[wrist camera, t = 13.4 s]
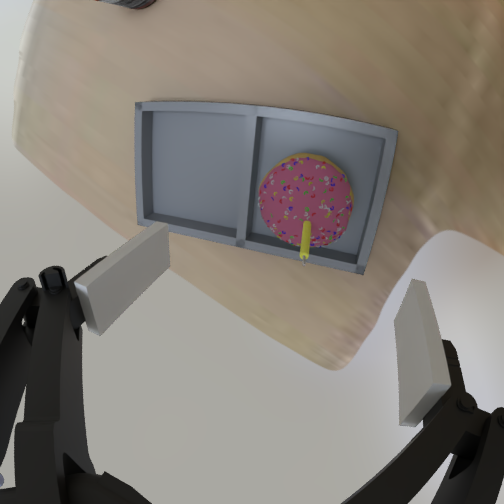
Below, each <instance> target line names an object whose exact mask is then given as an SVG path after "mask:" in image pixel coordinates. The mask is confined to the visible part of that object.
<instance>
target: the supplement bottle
mask: <svg viewBox="0 0 504 504" xmlns="http://www.w3.org/2000/svg"><path fill="white" fill-rule="evenodd" d="M96 1H101V2H105V3H110V4H115V5H119V6H123V7H127V8H132V9H141V8H144V7H146V6H148V5H150V4H151V3H153V2H154V1H155V0H96Z"/></svg>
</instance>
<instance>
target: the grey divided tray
mask: <svg viewBox="0 0 504 504" xmlns="http://www.w3.org/2000/svg"><path fill="white" fill-rule="evenodd" d="M397 136H398V131H397V130H394V129H391V128H387V127H383V126H379V125H375V124H371V123H366V122H362V121H357V120H352V119H348V118H343V117H337V116H332V115H326V114H321V113H315V112H308V111H302V110H295V109H287V108H279V107H271V106H261V105H251V104H239V103H224V102H202V101H148V102H135V185H136V205H137V220H138V225H141V226H146V227H149V226H151V225H152V224H153V223H155V222H156V221H158V222H163V223H167V224H168V232H173V233H177V234H182V235H186V236H191V237H195V238H200V239H204V240H209V241H213V242H218V243H222V244H227V245H231V246H236V247H240V248H245V249H249V250H254V251H258V252H263V253H267V254H272V255H276V256H281V257H285V258H290V259H294V260H299V261H303V259H301V258H300V248H301V246H299V247H298V246H293V245H291V244H289V243H287V242H285V241H283V240H282V239H281V240H280V239H279V238H278V237H277V236H276V235H275V234H274V233H273V232H272V231H271V230H270V228H269V227H267V225H266V223H265V222H264V220H262V219H263V218H262V219H261V217H262V215H261V211H260V207H259V206H258V203H259V200H258V197H259V186H260V184H261V182H262V180H263V178H264V176H265V175H266V174H267V173H268V172H269V171H270V170H271V169H272V168H273V167H274V166H275V165H276V164H278V163H279V162H280V161H281V160H283V159H285V158H286V157H288V156H291V155H294V154H297V153H310V154H315V155H321V156H324V157H326V158H327V159H329V160H330V161H331V162H333V163H334V164H335V165H336V166H338V167H339V168H340V169H341V170H342V171H343V172H344V173H345V174H346V177H347V179H348V182H349V184H350V186H351V189H352V191H353V195H354V205H353V209H352V213H351V216H350V219H349V221H348V224H347V229H346V231H345V233H344V234H342V235H341V236H340V238H338V239H337V242H334V241H333V242H332V243H331V244H328V245H325V246H324V247H323V246H321V247H320V248H318V247H309V257H308V259H306V261H305V262H308V263H312V264H317V265H321V266H325V267H330V268H334V269H339V270H343V271H348V272H352V273H357V274H361V275H363V274H364V271H365V268H366V265H367V261H368V258H369V255H370V251H371V248H372V244H373V241H374V237H375V234H376V230H377V226H378V222H379V219H380V215H381V211H382V207H383V203H384V199H385V194H386V190H387V186H388V181H389V177H390V172H391V167H392V162H393V157H394V152H395V147H396V142H397Z"/></svg>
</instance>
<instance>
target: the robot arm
mask: <svg viewBox="0 0 504 504" xmlns="http://www.w3.org/2000/svg"><path fill="white" fill-rule="evenodd" d="M169 267H170V255H169V233H168V224H167V223H163V222H158V221H156V222H155V223H153V224H152V225H151V226H149V227H148V228H146V229H145V230H143V231H142V232H140V233H139V234H138V235H136V236H135V237H133V238H132V239H131V240H129V241H128V242H126V243H125V244H124V245H122V246H121V247H119V248H118V249H117V250H115V251H114V252H113V253H111V254H110V255H109V256H104V257H102V258H99V259H97V260H96V261H95V262H93V263H92V264H90V266H88V267H86V268H85V270H82V271H81V272H80V273H78V274H77V275H76V276H74V277H73V278H72V279H71V280H69V281H68V282H67V278H66V274H65V270H64V269H63V267H60V266H51V267H48V268H46V269H44V270H43V271H41V272H40V274H39V279H40V282H41V285H42V288H38V287H36V285H35V281H34V279H32V278H29V277H27V278H21V279H19V280H18V281H16V282H15V283H14V284H13V286H12V287H11V289H10V290H9V292H8V293H7V295H6V296H5V298H4V299H3V301H2V302H1V304H0V466H1V464H2V462H3V459H4V457H5V454H6V451H7V447H8V444H9V440H10V436H11V432H12V428H13V425H14V421H15V418H16V414H17V411H18V408H19V405H20V402H21V398H22V395H23V392H24V389H25V386H26V395H25V409H24V420H23V422H19V423H17V424H16V427H15V436H14V462H15V464H14V465H15V485H16V487H12V488H6V489H0V504H152V503H150V502H149V501H148V500H147V499H146V498H144V497H143V496H142V495H141V494H140V493H138V492H137V491H136V490H135V489H133V487H131V486H130V485H128V484H126V483H124V482H122V481H120V480H119V479H117V478H115V477H114V476H112V475H110V474H109V473H107V472H104V473H103V474H102V475H98V474H96V473H95V469H94V466H93V464H92V462H91V460H90V457H89V453H88V446H87V438H86V429H85V418H84V405H83V387H82V386H83V385H82V327H81V324H82V323H83V322H85V321H86V324H87V327H88V330H89V331H91V332H93V333H95V334H97V335H99V336H101V335H102V334H103V333H104V332H105V331H106V330H107V328H108V327H109V326H110V325H111V324H112V323H113V322H114V321H115V320H116V319H117V318H118V317H119V316H120V315H121V314H122V313H123V312H124V311H125V310H126V309H127V308H128V307H129V306H130V305H131V304H132V303H133V302H134V301H135V300H136V299H137V298H138V297H139V296H140V295H141V294H142V293H143V292H144V291H145V290H146V289H147V288H148V287H149V286H150V285H151V284H152V283H153V282H154V281H155V280H156V279H157V278H158V277H159V276H160V275H161V274H163V273H164V271H166V270H167V269H168V268H169ZM23 318H24V321H25V322H24V324H23V325H22V319H23ZM394 326H395V336H396V348H397V362H398V381H399V425H400V426H410V427H416V426H417V425H418V424H419V423H420V422H421V421H422V420H423V428H422V430H421V431H420V432H419V433H418V434H417V435H416V436H415V437H414V438H413V439H412V440H411V441H410V442H409V443H408V444H407V445H406V447H405V448H404V449H403V450H402V451H401V452H400V453H399V454H398V455H397V456H396V457H395V458H393V459H392V460H391V461H390V462H389V463H388V464H387V465H386V466H385V467H384V468H383V469H382V470H381V471H380V472H379V473H377V474H376V475H375V476H374V477H373V478H372V479H371V480H369V481H368V482H367V483H366V484H365V485H364V486H362V487H361V488H360V489H359V490H358V491H356V492H355V493H354V494H352V495H351V496H350V497H349V498H347V499H346V500H345V501H344V502H342V503H341V504H408V503H409V502H410V501H411V499H412V498H413V497H414V496H415V495H416V494H417V493H418V492H419V491H420V490H421V489H422V487H423V486H424V485H425V484H426V483H427V482H428V480H429V479H430V478H431V477H432V476H433V474H434V473H435V472H436V471H437V469H438V468H439V467H440V466H441V464H442V463H443V462H444V461H445V459H446V458H447V457H448V455H449V454H450V453H452V454H454V455H453V458H452V460H451V462H450V465H449V467H448V469H447V472H446V474H445V476H444V478H443V481H442V482H441V485H440V487H439V489H438V491H437V493H436V495H435V497H434V499H433V501H432V503H431V504H495V503H496V500H497V497H498V494H499V491H500V488H501V485H502V481H503V478H504V408H503V407H500V408H497V409H495V410H494V411H493V412H492V413H491V414H490V413H488V412H486V411H483V410H481V409H479V408H477V403H476V401H475V399H474V398H473V397H472V395H470V394H469V393H467V392H466V390H465V385H464V381H463V376H462V372H461V368H460V363H459V360H458V355H457V351H456V349H455V347H454V346H453V344H452V343H451V341H448V340H443V339H441V335H440V331H439V327H438V323H437V320H436V317H435V313H434V309H433V306H432V302H431V299H430V296H429V292H428V289H427V286H426V283H425V282H424V281H419V280H415V279H412V280H411V282H410V285H409V288H408V290H407V292H406V295H405V297H404V299H403V302H402V304H401V306H400V309H399V311H398V313H397V316H396V318H395V320H394ZM26 384H27V385H26ZM3 483H4V478H3V476H2V474H1V473H0V486H2V485H3Z"/></svg>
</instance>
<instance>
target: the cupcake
mask: <svg viewBox="0 0 504 504" xmlns="http://www.w3.org/2000/svg"><path fill="white" fill-rule="evenodd" d="M258 200H259V203H258V206H259V207H260V211H261V215H262V217H261V219H262V218H263V219H262V220H264V222H265V223H266V225H267V227H269V228H270V230H271V231H272V232H273V233H274V234H275V235H276V236H277V237H278V238H279V239H280V240H281V239H282V240H283V241H285V242H287V243H289V244H291V245H293V246H298V247H299V246H301V248H300V258H301V259H303V262H302V263H303V266H305V261H306V259H308V257H309V247H318V248H320V247H321V246H323V247H324V246H325V245H328V244H331V243H332V242H333V241H334V242H337V239H338V238H340V236H341V235H342V234H344V233H345V231H346V229H347V224H348V221H349V219H350V216H351V213H352V209H353V205H354V195H353V191H352V189H351V186H350V184H349V182H348V179H347V177H346V174H345V173H344V172H343V171H342V170H341V169H340V168H339V167H338V166H336V165H335V164H334V163H333V162H331V161H330V160H329V159H327V158H326V157H324V156H321V155H315V154H310V153H297V154H294V155H291V156H288V157H286V158H285V159H283V160H281V161H280V162H279V163H278V164H276V165H275V166H274V167H273V168H272V169H271V170H270V171H269V172H268V173H267V174H266V175H265V176H264V178H263V180H262V182H261V184H260V186H259V197H258Z"/></svg>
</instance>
